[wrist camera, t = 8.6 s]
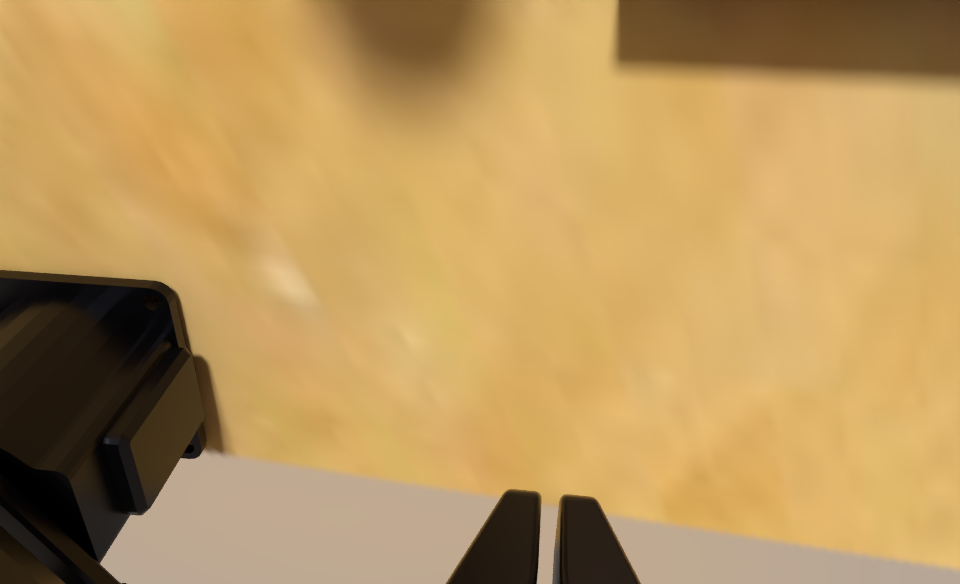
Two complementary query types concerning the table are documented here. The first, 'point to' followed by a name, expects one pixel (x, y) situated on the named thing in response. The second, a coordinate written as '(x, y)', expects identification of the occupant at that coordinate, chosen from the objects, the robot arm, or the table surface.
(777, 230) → the table surface
